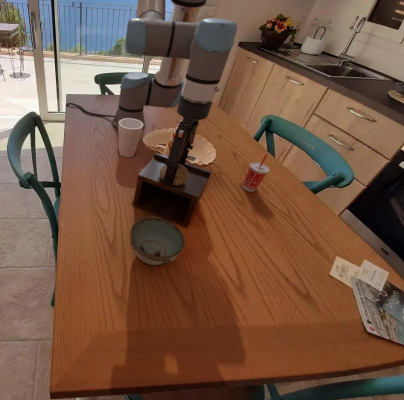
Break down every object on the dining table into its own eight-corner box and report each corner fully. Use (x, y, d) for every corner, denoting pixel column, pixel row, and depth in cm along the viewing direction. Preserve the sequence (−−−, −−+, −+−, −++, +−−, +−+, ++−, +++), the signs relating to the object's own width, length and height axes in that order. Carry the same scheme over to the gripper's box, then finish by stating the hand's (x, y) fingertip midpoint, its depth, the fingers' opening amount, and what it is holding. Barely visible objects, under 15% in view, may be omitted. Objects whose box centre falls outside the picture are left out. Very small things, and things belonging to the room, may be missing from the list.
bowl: (165, 286, 65) (173, 267, 60) (117, 261, 70) (120, 241, 65) (183, 249, 74) (192, 230, 69) (139, 229, 79) (144, 209, 74)
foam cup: (112, 155, 109) (115, 125, 100) (119, 145, 115) (122, 116, 106) (134, 161, 106) (139, 131, 98) (140, 150, 113) (145, 121, 104)
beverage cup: (259, 188, 97) (279, 154, 88) (254, 195, 94) (273, 161, 84) (243, 180, 100) (260, 147, 91) (236, 187, 97) (254, 154, 87)
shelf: (132, 204, 87) (139, 171, 78) (148, 184, 95) (155, 152, 87) (186, 227, 80) (200, 194, 71) (198, 203, 89) (211, 171, 80)
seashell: (190, 164, 79) (192, 168, 72) (185, 182, 81) (186, 188, 74) (163, 158, 81) (162, 161, 74) (158, 176, 83) (156, 181, 75)
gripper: (200, 118, 55) (173, 200, 69) (222, 89, 69) (196, 162, 84) (165, 108, 57) (146, 190, 72) (193, 82, 72) (173, 155, 86)
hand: (173, 175), depth 78 cm, fingers closed on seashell, 9 cm apart
